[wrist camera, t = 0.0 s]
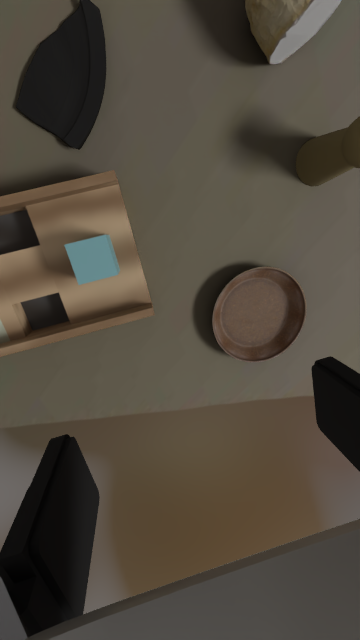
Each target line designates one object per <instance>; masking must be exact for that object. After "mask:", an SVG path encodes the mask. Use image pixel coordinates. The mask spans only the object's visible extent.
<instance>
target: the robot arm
mask: <svg viewBox="0 0 360 640" xmlns="http://www.w3.org/2000/svg"><path fill="white" fill-rule="evenodd" d="M312 378H313V389H314V398H315V409H316V420H317V424H318V427H319V428H320V430H321V431H322V432H323V433H324V434H325V435H326V437H327V438H328V439H329V440H330V441H331V442H332V443H333V444H334V445H335V446H336V447H337V448H338V449H339V450H340V451H341V452H342V454H343V455H344V456H345V457H346V458H347V459H348V460H349V461H350V462H351V463H352V464H353V465H354V466H355V467H356V468H357V469H358V470H359V471H360V374H359V373H357V372H356V371H354V370H353V369H351V368H349V367H348V366H346V365H345V364H343V363H341V362H340V361H338V360H336V359H335V358H333V357H327V358H323V359H320V360H317V361H315V365H313V366H312ZM98 506H99V492H98V489H97V486H96V484H95V482H94V480H93V477H92V475H91V473H90V471H89V468H88V466H87V464H86V461H85V459H84V457H83V455H82V453H81V450H80V448H79V445H78V443H77V441H76V439H75V438H74V437H70V436H69V435H67V434H66V435H62V436H59V437H56V438H52V439H51V440H50V441H49V443H48V446H47V448H46V450H45V453H44V455H43V457H42V460H41V462H40V464H39V467H38V469H37V471H36V474H35V476H34V478H33V481H32V483H31V485H30V487H29V488H28V490H27V492H26V494H25V497H24V499H23V501H22V503H21V506H20V508H19V510H18V513H17V515H16V518H15V519H14V522H13V524H12V526H11V529H10V531H9V533H8V536H7V538H6V540H5V543H4V545H3V547H2V550H1V552H0V640H360V519H358V520H355V521H352V522H349V523H346V524H343V525H340V526H337V527H334V528H331V529H328V530H325V531H322V532H319V533H316V534H313V535H310V536H307V537H304V538H301V539H298V540H295V541H292V542H290V543H286V544H284V545H281V546H277V547H275V548H272V549H269V550H266V551H263V552H260V553H257V554H254V555H251V556H248V557H245V558H243V559H239V560H236V561H234V562H231V563H228V564H225V565H222V566H219V567H216V568H214V569H210V570H208V571H204V572H202V573H199V574H196V575H193V576H190V577H187V578H185V579H182V580H179V581H176V582H173V583H170V584H167V585H165V586H162V587H158V588H156V589H153V590H150V591H147V592H144V593H141V594H138V595H136V596H133V597H130V598H127V599H124V600H121V601H119V602H116V603H113V604H110V605H108V606H105V607H102V608H100V609H97V610H94V611H92V612H89V613H86V614H83V611H84V604H85V596H86V589H87V583H88V576H89V569H90V562H91V555H92V547H93V541H94V534H95V527H96V520H97V513H98Z"/></svg>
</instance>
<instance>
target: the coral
mask: <svg viewBox="0 0 360 640" xmlns="http://www.w3.org/2000/svg"><path fill="white" fill-rule="evenodd" d="M341 1H342V0H245V9H246V13H247V17H248V20H249V22H250V26H251V32H252V34H253V35H254V37H255V39H256V41H257V42H258V44H259V46H260V48H261V49H262V51H263V52H264V53H265V55H266V56H267V60H268V62H269V64H278V63H283V62H284V61H285V60H286V59H287V57H289V56H291V55H292V54H293V53H294V52H295V51H297V50H298V49H299V48H300V47H301V46H302V45H304V44H305V43H306V42H307V41H308V40H309V39H310V38H311V37H313V36H314V35H315V34H316V33H317V31H318V30H319V29H320V28H321V27H322V26H323V24H324V23H325V22H326V21H327V20H328V18H329V17H330V16H331V15H332V14H333V12H334V11H335V9H336V8H337V7H338V5H339V4H340V2H341Z"/></svg>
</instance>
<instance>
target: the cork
mask: <svg viewBox="0 0 360 640" xmlns="http://www.w3.org/2000/svg"><path fill="white" fill-rule="evenodd" d="M354 167H355V168H360V117H358V118H357V119H356V120H355V121H354V122H353V123H352V124H351V125H350V126H349V127H347V128H344V129H341V130H338V131H335V132H331V133H328V134H325V135H322V136H318V137H315V138H313V139H310V140H308V141H307V142H306V143H305V144H303V145H302V147H301V149H300V150H299V152H298V155H297V158H296V171H297V175H298V176H299V178H300V180H301V181H302V182H303V183H305V184H306V185H309V186H318V185H321V184H323V183H325V182H327V181H329V180H331V179H333V178H335V177H337V176H339V175H341V174H343V173H345V172H346V171H348V170H350V169H352V168H354Z"/></svg>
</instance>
